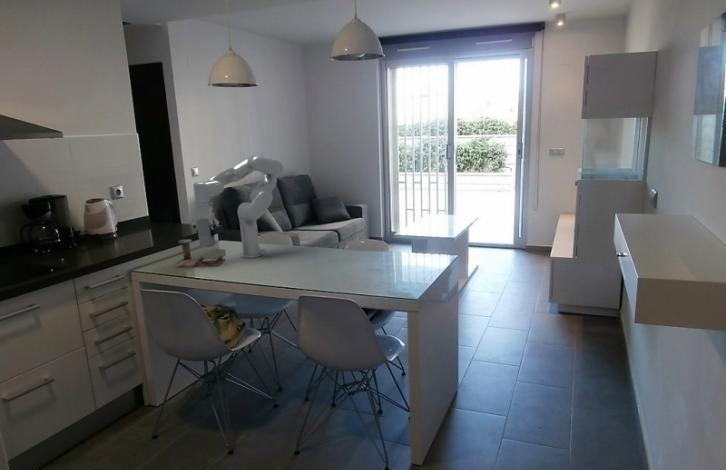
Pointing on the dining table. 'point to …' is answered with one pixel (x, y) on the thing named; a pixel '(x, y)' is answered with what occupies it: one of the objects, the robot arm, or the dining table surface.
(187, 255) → the bobbin
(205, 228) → the skincare box
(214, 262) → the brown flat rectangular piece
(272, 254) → the dining table surface
